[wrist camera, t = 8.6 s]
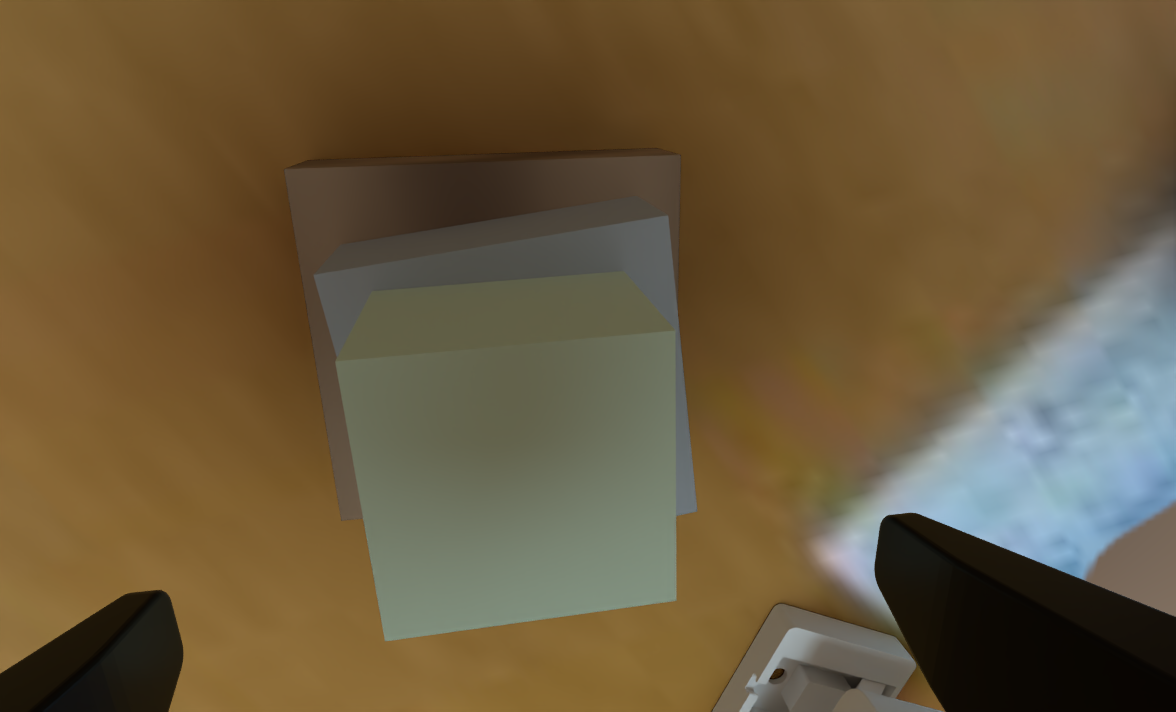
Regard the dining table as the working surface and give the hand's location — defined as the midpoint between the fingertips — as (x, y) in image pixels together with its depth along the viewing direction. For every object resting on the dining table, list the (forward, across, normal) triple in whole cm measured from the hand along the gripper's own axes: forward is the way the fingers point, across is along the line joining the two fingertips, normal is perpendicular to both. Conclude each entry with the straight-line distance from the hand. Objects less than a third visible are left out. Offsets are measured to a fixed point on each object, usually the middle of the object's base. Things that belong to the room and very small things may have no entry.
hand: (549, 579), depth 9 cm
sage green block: (+6, 0, 0) cm, 7 cm away
